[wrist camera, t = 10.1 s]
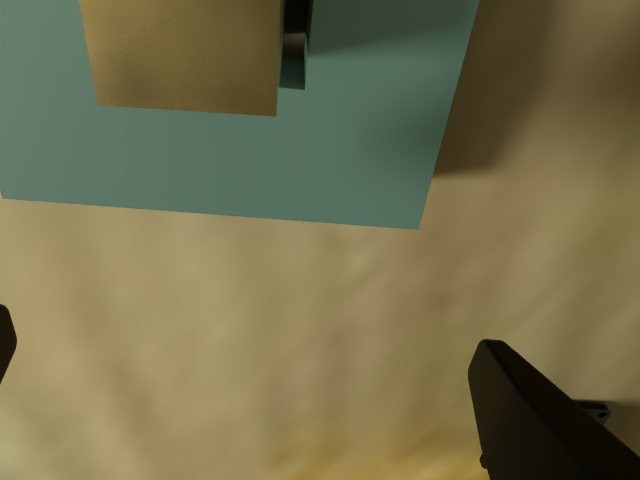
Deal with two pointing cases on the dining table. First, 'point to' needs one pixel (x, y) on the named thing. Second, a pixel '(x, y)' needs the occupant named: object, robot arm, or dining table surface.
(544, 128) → the dining table surface
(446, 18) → the socket block
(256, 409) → the dining table surface
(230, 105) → the peg
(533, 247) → the dining table surface
